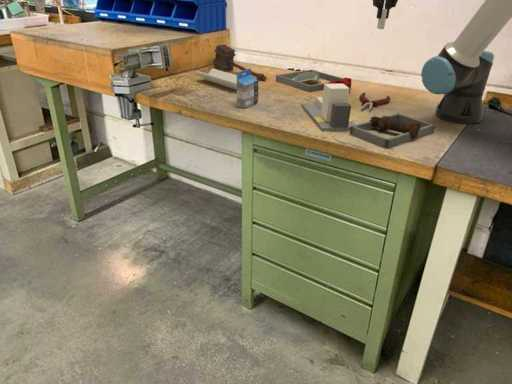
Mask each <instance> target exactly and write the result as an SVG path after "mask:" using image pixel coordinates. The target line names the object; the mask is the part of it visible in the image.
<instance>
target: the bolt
mask: <svg viewBox="0 0 512 384" xmlns="http://www.w3.org/2000/svg"><path fill="white" fill-rule="evenodd" d="M369 119H370V120H369V121H371V122H372V126H373V127H377V128H378V129H379V131H380V132H386V131H392V132H396V133H400V134H404V133H407V132H408V133H410V135H411V139H412V140H411V141H413V140H416V139H417V138H416V137H417V136H418V131H419V130H420V122H419V121H414V122H412V124H410V123H404V122H399V121H394V120H390V118H389V115H383V116H381V117H380V116H379V117H378V116H372V117H370V118H369Z"/></svg>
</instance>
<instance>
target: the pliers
mask: <svg viewBox="0 0 512 384" xmlns="http://www.w3.org/2000/svg"><path fill="white" fill-rule="evenodd" d="M359 100H360V102H361V111H364V110H367V109H368V112H370V111H372V109H373V108H374V107H375V109H377V108H378V107H381V106H384V105H388V104H389V103H390V101H391V96H389V95H387V96H386V98H381V99H377V100H376V99H375V100H371V101H370V99H368V98H367V97H366V92H362V93H361V94H360V95H359ZM366 108H367V109H366Z"/></svg>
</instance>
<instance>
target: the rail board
mask: <svg viewBox="0 0 512 384" xmlns="http://www.w3.org/2000/svg"><path fill="white" fill-rule="evenodd" d="M322 100H323V96H316V97H315V102H313V103H312V102H307V103H302V102H301V108H302V109H303V110H304V111H305V112H306V113H307V115H308V116H309V117H310V118H311V119H312V121H313V122H314V124H315V125H316V126H317V127H318V128H319V130H320V131H321V132H333V131H335V132H336V131H337V132H338V131H339V130H345V131H350V127H351V126H353V125H357V123H355V122H354V121H353V120H352V119H351V118H350V117H351V112H352V111H351V110H352V105H351V104H350V103H349V102H348V103H333V104H332V112H331V120H330V122H326V121H325V120H324V119H323V118H322V117H321V109H322ZM339 132H340V131H339Z"/></svg>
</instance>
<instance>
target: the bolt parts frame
mask: <svg viewBox="0 0 512 384" xmlns="http://www.w3.org/2000/svg"><path fill="white" fill-rule="evenodd" d="M388 116H389V118H390V120H394V121H399V122H404V123H410V124H412V122H414V121H419V122H420V130H419V131H418V136H417V137H416V139H419V138H421V137H424V136H427V135H431V134H432V133H433V134H434V131H435V127H436V124H433V123H429V122H428V121H423V120H421V119H417V118H415V117H411V116H409V115H405V114H402V113H399V112H396V113H394V114H390V115H388ZM377 128H378V127H373V126H372V122H371V121H370V120H368V121H364V122H361V123H356V125H353V126H351V127H350V130H349V135H351V134H353V135H352V136H354V135H355V136H354V137H356V136H357V138H359V137H360V138H359V139H361V138H362V139H361V140H364V139H365V140H364V141H366V140H367V141H366V142H369V141H370V142H369V143H371V142H372V144H374V143H375V144H374V145H376V144H377V145H376V146H379V145H380V146H379V147H381V146H382V148H384V147H385V149H386V148H387V149H390V148H393V147H395V146H399V145H400V144H401V145H402V144H404V143H407V142H409V141H413V140H412V139H411V135H410V133H408V132H407V133H400V134H398V135H395V136H392V137H388V138H387V137H384V136H382V135H379V134H376V133H373V132H371V131H369V130H373V129H377ZM366 130H367V131H366ZM392 146H393V147H392Z"/></svg>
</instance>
